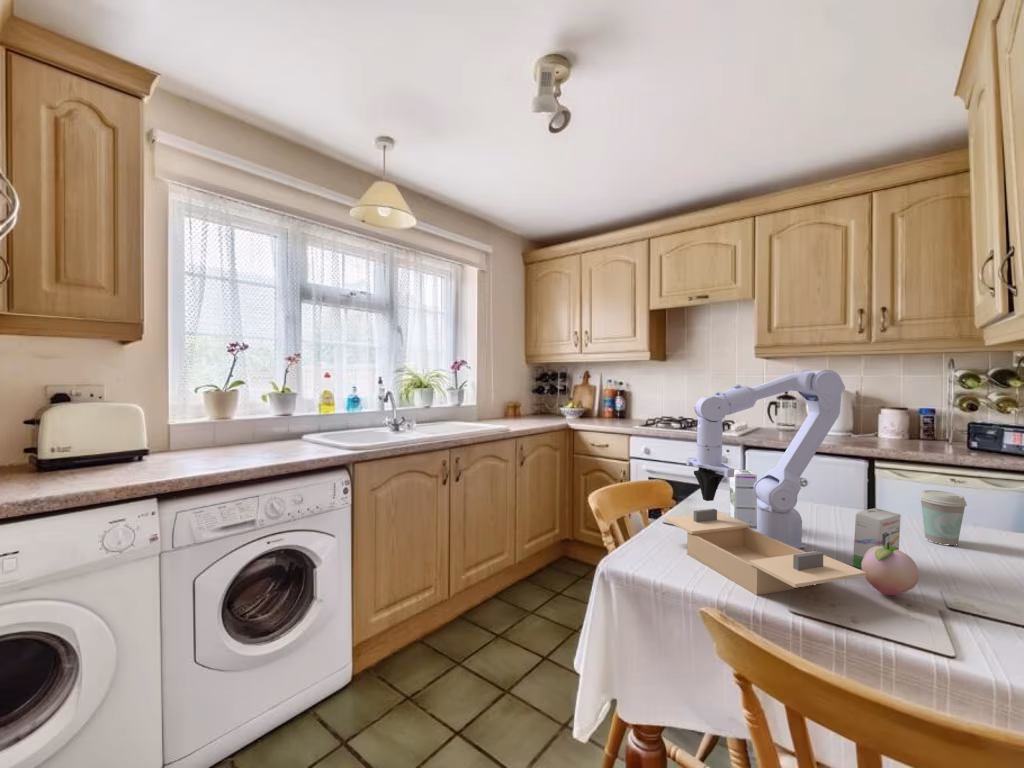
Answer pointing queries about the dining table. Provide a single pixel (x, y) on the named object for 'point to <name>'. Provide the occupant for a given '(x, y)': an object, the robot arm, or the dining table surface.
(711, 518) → the lid panel
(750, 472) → the white printed box
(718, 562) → the carton
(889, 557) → the decorative fruit
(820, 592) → the dining table surface
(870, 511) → the ink box
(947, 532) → the coffee cup
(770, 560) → the lid panel
